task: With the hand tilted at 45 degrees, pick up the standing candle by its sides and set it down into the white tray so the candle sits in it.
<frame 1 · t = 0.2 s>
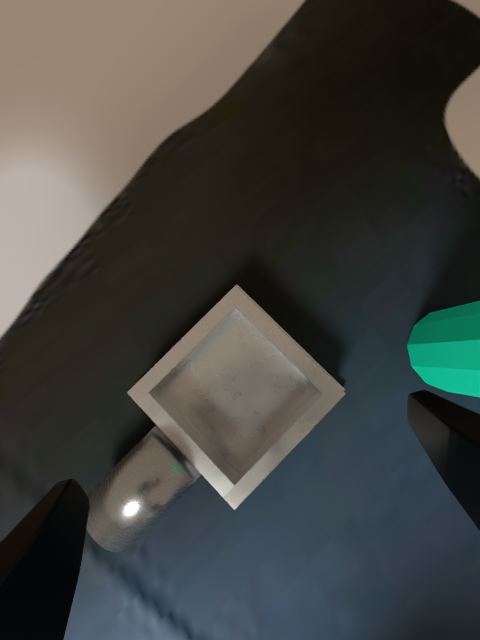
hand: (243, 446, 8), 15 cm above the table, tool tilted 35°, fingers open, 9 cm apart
candle: (447, 350, 23), on the table
white tray: (237, 388, 23), on the table
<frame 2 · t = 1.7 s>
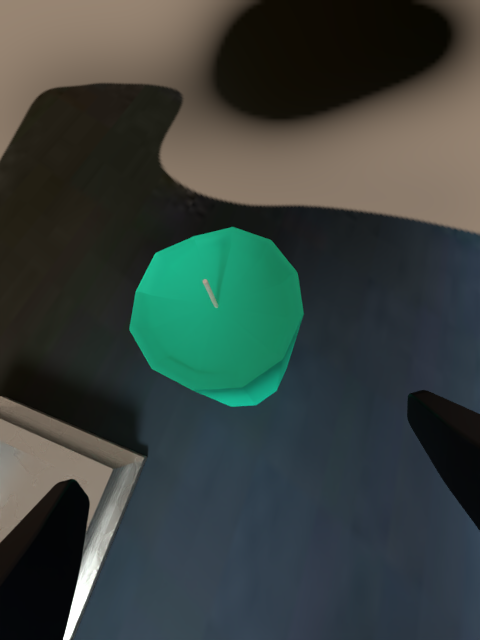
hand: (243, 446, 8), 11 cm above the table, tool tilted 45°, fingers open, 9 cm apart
candle: (241, 361, 20), on the table
white tray: (29, 516, 18), on the table
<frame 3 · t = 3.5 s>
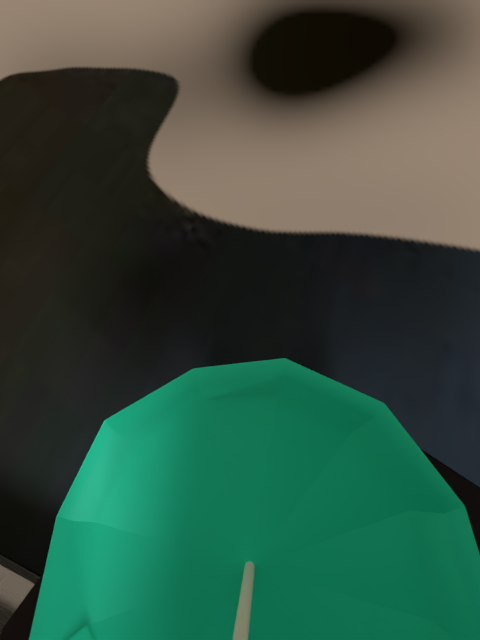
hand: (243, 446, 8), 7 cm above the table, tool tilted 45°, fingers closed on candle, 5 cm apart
candle: (262, 465, 14), on the table, touching gripper
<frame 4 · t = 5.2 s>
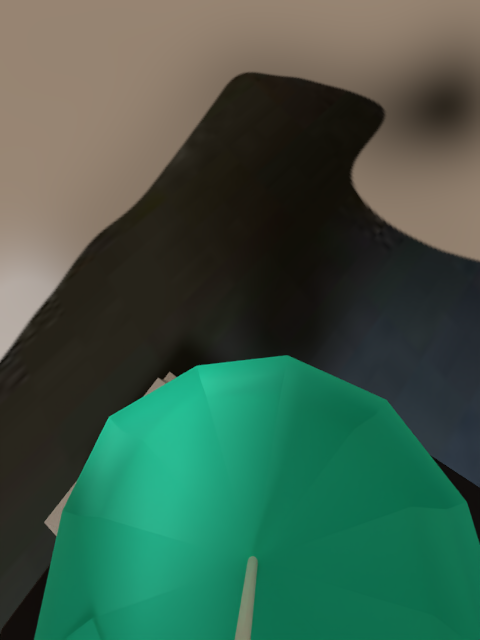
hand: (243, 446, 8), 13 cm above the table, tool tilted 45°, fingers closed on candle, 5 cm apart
candle: (265, 464, 14), point 6 cm above the table, touching gripper
white tray: (180, 491, 20), on the table
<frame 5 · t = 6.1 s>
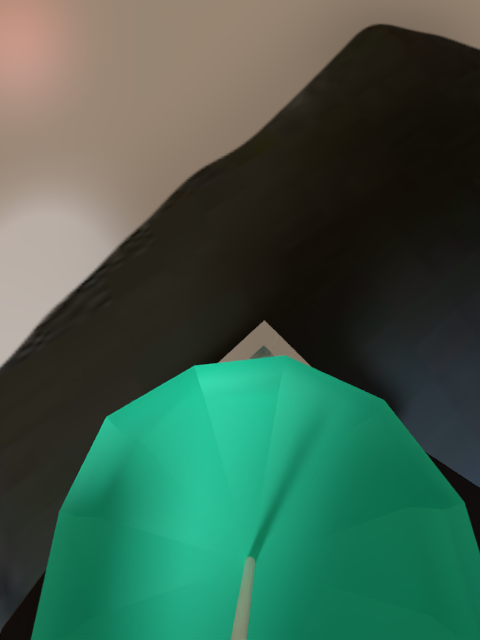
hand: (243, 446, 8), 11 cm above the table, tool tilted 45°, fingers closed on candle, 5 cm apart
candle: (264, 464, 14), point 4 cm above the table, touching gripper
white tray: (262, 449, 18), on the table
when the fingers open (8 cm above the table, at t = 6.9 s): candle drops 1 cm, resting on white tray.
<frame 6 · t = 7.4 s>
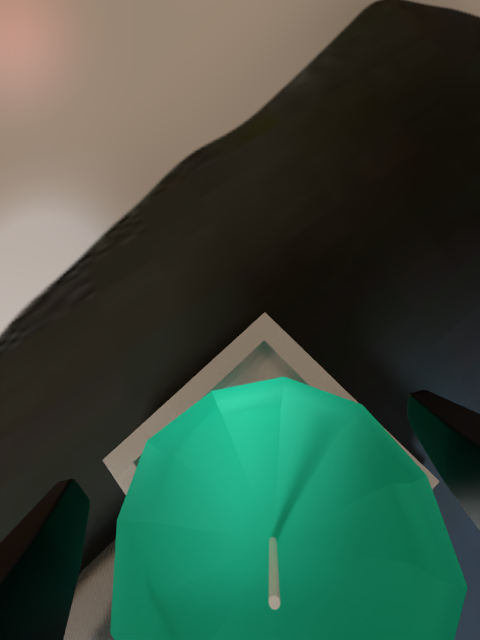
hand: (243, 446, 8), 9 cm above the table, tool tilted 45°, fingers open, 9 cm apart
candle: (270, 464, 15), resting on white tray
white tray: (263, 461, 16), on the table
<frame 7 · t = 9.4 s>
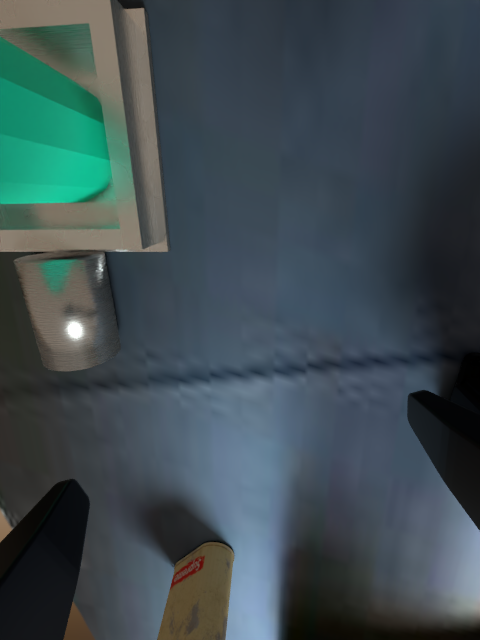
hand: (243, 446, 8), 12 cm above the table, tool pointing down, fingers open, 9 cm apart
candle: (65, 144, 16), resting on white tray
lighter: (205, 558, 29), on the table
white tray: (63, 149, 17), on the table
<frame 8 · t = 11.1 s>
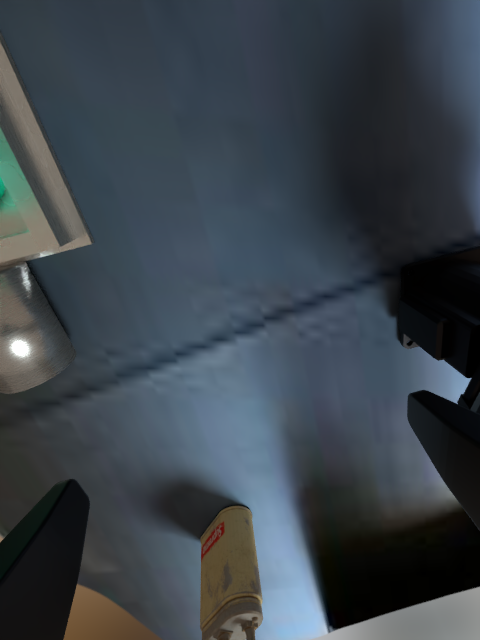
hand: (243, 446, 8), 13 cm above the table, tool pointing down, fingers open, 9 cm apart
lighter: (227, 524, 31), on the table
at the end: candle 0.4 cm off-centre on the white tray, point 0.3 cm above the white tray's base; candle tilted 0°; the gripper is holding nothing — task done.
